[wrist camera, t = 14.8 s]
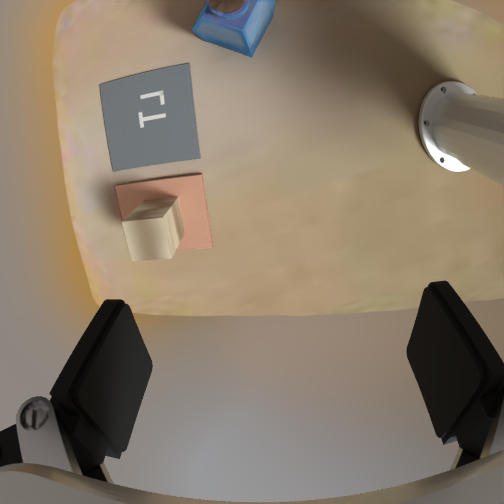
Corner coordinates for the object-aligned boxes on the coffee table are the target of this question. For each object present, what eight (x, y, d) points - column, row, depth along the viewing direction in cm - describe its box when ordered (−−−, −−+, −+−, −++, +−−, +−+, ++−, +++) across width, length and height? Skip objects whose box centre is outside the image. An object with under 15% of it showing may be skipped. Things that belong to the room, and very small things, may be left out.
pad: (202, 173, 37) (201, 175, 36) (213, 245, 42) (212, 247, 41) (116, 185, 38) (114, 186, 37) (132, 251, 42) (131, 253, 42)
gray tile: (189, 63, 30) (189, 63, 30) (200, 158, 36) (200, 158, 36) (100, 84, 31) (99, 84, 31) (113, 171, 37) (113, 171, 37)
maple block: (178, 196, 38) (162, 217, 32) (185, 232, 40) (171, 258, 34) (142, 200, 38) (121, 221, 32) (150, 235, 40) (132, 261, 34)
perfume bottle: (224, -2, 26) (208, -41, 16) (273, 15, 27) (278, -21, 17) (202, 40, 29) (176, 16, 18) (251, 57, 30) (246, 37, 20)
